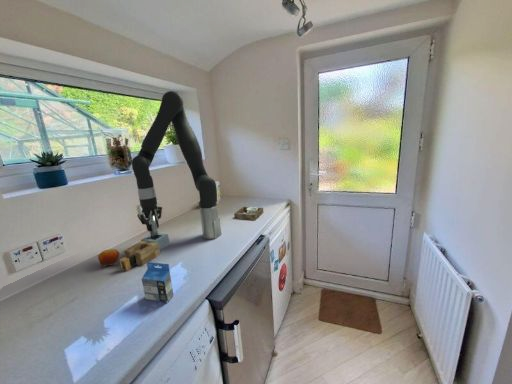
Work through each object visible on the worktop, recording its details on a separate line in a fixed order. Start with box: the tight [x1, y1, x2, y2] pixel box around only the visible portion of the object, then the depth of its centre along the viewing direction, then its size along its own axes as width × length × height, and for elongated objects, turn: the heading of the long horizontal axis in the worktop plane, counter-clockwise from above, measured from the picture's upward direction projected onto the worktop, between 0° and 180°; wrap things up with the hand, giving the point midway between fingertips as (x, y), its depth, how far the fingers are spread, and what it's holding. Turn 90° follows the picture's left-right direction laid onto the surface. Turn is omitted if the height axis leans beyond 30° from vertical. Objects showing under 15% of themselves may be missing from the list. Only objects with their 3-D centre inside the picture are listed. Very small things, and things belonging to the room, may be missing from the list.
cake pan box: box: [214, 180, 221, 205], centre depth 182 cm, size 19×5×18 cm, turn 168°
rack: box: [140, 232, 170, 251], centre depth 117 cm, size 9×9×6 cm
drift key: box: [119, 253, 137, 272], centre depth 100 cm, size 3×8×5 cm, turn 158°
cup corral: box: [233, 206, 264, 221], centre depth 155 cm, size 15×15×4 cm
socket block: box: [123, 240, 161, 267], centre depth 106 cm, size 10×10×6 cm
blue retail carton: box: [141, 261, 174, 303], centre depth 77 cm, size 9×4×12 cm, turn 77°
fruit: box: [97, 248, 120, 268], centre depth 102 cm, size 8×8×8 cm
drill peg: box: [147, 215, 159, 240], centre depth 115 cm, size 4×4×15 cm
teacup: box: [246, 206, 259, 214], centre depth 155 cm, size 10×10×5 cm
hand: (153, 229), depth 115 cm, fingers closed on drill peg, 3 cm apart
